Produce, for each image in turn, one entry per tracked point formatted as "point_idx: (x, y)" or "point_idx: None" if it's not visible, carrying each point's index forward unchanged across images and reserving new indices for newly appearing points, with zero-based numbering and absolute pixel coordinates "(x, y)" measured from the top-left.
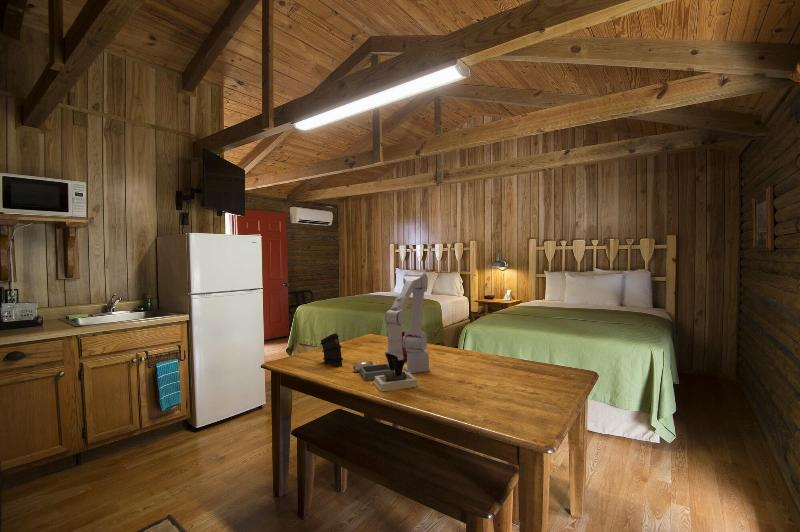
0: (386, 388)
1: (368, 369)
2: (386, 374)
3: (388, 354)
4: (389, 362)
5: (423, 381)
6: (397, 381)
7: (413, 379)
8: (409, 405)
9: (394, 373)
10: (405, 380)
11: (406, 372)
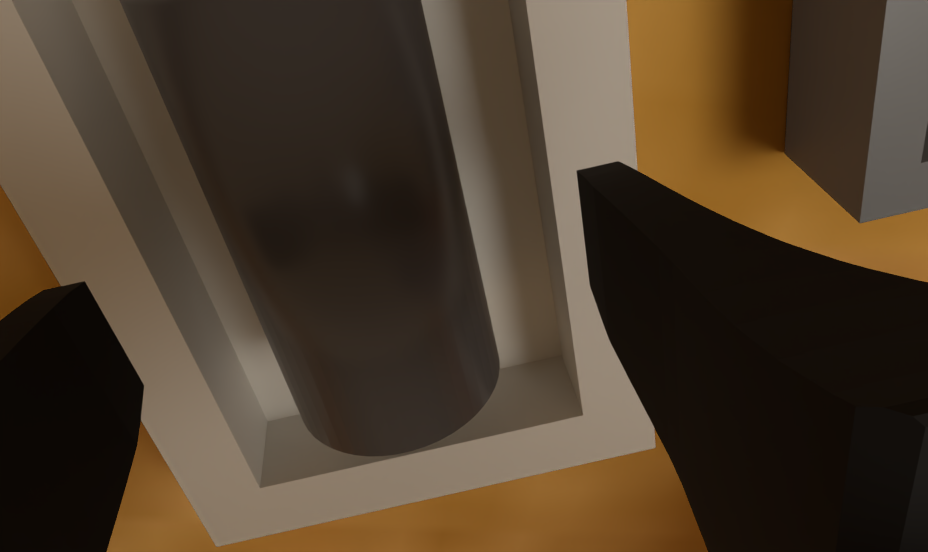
0: None
1: None
2: (233, 20)
3: (851, 528)
4: (663, 280)
5: (436, 524)
6: (80, 238)
7: (218, 501)
8: None
9: (316, 251)
10: (158, 386)
11: (633, 417)
